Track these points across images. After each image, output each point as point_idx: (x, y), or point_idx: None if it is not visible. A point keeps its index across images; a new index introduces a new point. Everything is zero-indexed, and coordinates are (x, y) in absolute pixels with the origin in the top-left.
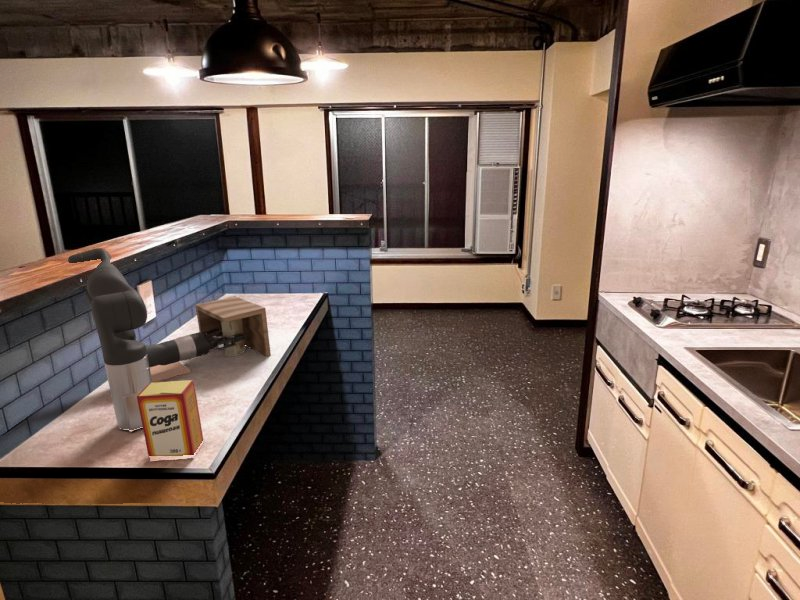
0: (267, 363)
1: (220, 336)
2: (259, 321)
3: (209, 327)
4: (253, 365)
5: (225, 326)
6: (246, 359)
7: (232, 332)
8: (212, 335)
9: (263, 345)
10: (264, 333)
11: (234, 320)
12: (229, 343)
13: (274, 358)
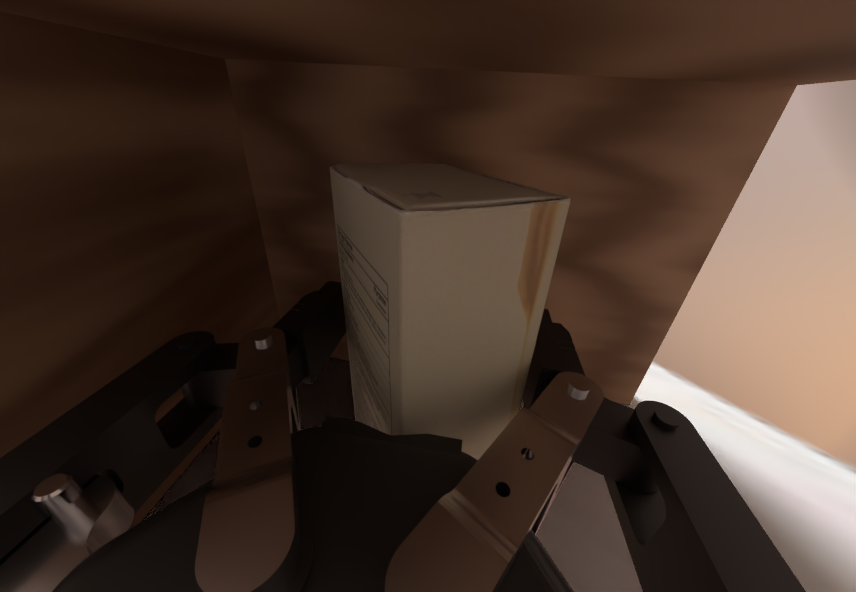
0: (764, 465)
1: (545, 496)
2: (681, 181)
3: (32, 341)
4: (784, 551)
5: (466, 285)
6: (601, 496)
7: (528, 337)
8: (298, 527)
9: (628, 350)
10: (694, 272)
11: (518, 186)
12: (562, 482)
13: (678, 399)
